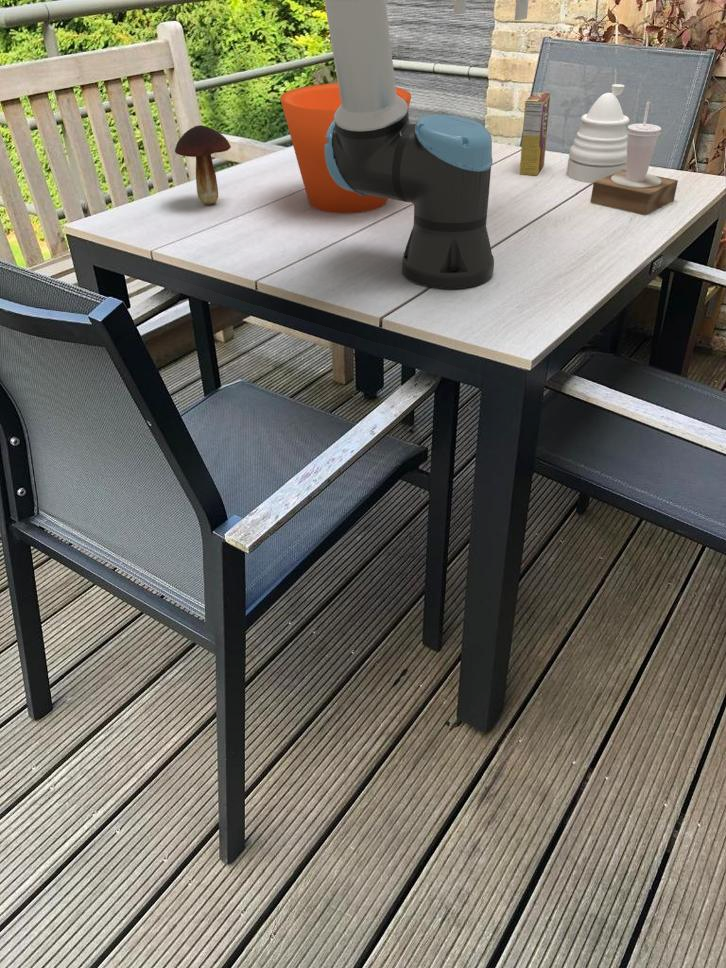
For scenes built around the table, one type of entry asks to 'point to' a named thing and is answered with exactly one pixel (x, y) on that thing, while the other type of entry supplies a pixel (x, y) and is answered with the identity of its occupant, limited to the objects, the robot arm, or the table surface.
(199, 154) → the decorative mushroom
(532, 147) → the candy box
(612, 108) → the honey pot
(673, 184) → the pedestal
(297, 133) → the flowerpot
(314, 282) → the table surface
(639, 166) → the smoothie
